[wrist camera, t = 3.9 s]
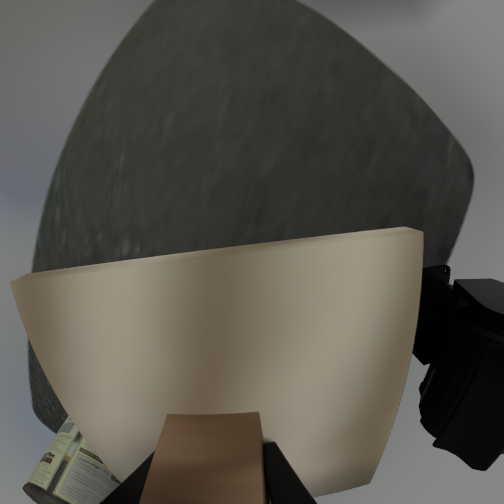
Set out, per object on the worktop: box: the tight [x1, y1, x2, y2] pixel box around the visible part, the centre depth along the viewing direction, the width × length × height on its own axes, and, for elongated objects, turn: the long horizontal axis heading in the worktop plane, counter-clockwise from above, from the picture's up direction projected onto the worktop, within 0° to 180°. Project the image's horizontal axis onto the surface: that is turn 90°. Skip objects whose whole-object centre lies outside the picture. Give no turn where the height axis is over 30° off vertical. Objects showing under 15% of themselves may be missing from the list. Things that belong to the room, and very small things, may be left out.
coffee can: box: [23, 416, 121, 504], centre depth 17 cm, size 10×10×14 cm
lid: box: [10, 227, 423, 504], centre depth 7 cm, size 13×13×6 cm
